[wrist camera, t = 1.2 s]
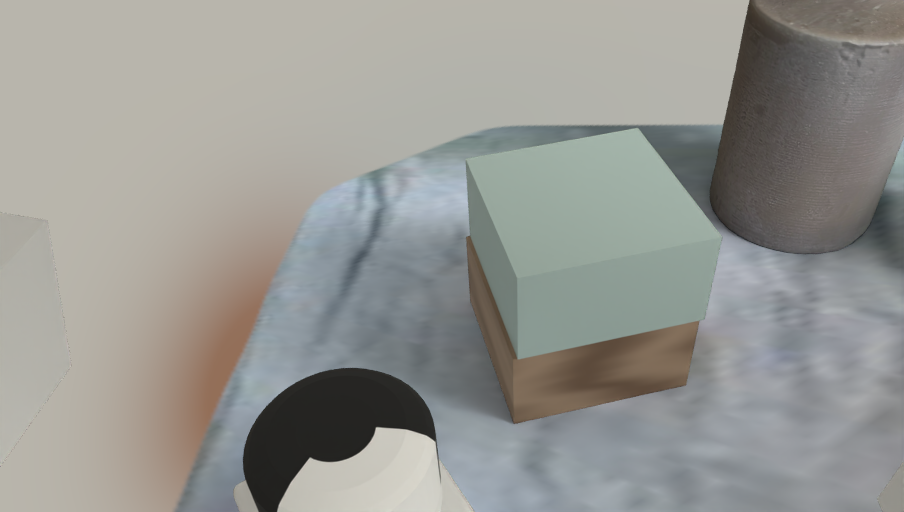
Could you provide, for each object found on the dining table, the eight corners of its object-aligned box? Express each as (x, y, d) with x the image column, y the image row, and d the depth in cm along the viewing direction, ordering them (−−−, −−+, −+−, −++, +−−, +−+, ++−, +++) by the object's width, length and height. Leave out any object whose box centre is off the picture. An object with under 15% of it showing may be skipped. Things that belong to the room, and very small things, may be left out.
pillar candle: (694, 165, 54) (731, -56, 44) (840, 157, 53) (911, -68, 43) (731, 261, 46) (786, 22, 36) (900, 253, 46) (1003, 9, 36)
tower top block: (629, 205, 43) (638, 127, 40) (704, 319, 37) (722, 237, 33) (470, 236, 42) (465, 158, 39) (517, 359, 35) (517, 278, 32)
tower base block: (618, 273, 46) (625, 206, 43) (685, 388, 40) (699, 319, 37) (470, 303, 45) (466, 236, 42) (514, 427, 39) (512, 359, 35)
